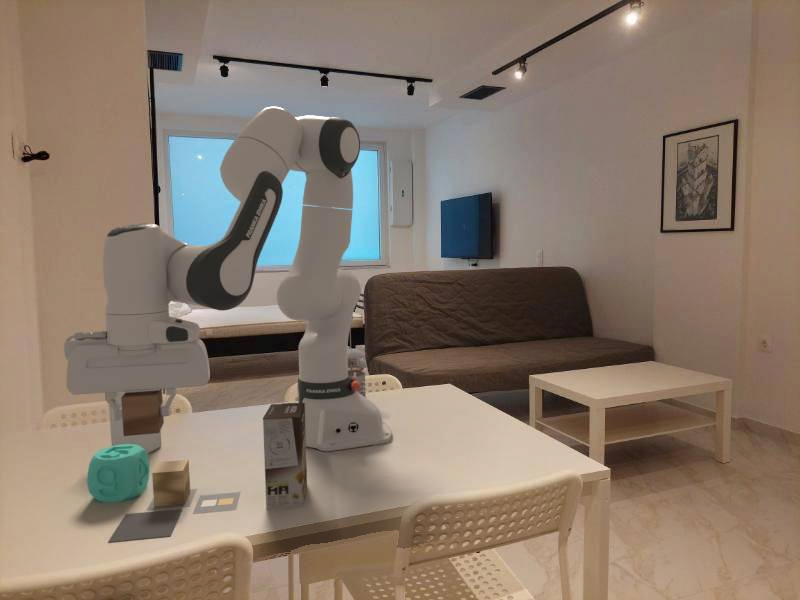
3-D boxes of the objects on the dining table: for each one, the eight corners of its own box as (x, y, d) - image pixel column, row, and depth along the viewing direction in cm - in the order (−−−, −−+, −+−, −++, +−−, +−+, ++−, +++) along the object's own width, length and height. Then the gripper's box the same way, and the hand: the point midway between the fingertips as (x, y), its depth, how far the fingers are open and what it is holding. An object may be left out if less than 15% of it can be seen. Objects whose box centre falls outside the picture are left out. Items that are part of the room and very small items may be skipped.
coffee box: (303, 509, 96) (300, 417, 94) (265, 511, 95) (261, 418, 94) (307, 485, 105) (305, 401, 103) (273, 487, 105) (269, 403, 103)
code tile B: (197, 490, 104) (197, 488, 104) (189, 507, 97) (189, 506, 97) (156, 493, 103) (156, 492, 103) (146, 511, 96) (146, 509, 96)
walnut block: (159, 433, 87) (156, 395, 86) (123, 436, 86) (121, 397, 85) (163, 422, 92) (161, 386, 91) (130, 425, 91) (128, 389, 90)
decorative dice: (150, 483, 107) (148, 442, 107) (136, 502, 100) (133, 458, 99) (106, 486, 106) (103, 444, 106) (88, 505, 99) (85, 461, 98)
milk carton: (141, 458, 120) (135, 370, 118) (112, 456, 121) (106, 369, 119) (161, 446, 127) (157, 363, 125) (133, 444, 128) (128, 362, 126)
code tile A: (240, 493, 102) (240, 491, 102) (236, 511, 95) (236, 509, 95) (200, 497, 101) (199, 495, 101) (192, 515, 94) (192, 513, 94)
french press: (330, 406, 156) (327, 316, 154) (341, 395, 168) (339, 311, 165) (364, 407, 155) (363, 317, 152) (373, 396, 166) (372, 311, 163)
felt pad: (182, 511, 96) (182, 508, 96) (170, 538, 87) (170, 535, 87) (125, 516, 94) (125, 514, 94) (108, 544, 85) (107, 541, 85)
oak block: (190, 491, 103) (188, 459, 102) (184, 504, 98) (182, 470, 97) (161, 494, 102) (159, 461, 101) (154, 506, 97) (152, 473, 96)
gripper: (56, 336, 81) (62, 429, 83) (206, 330, 86) (209, 417, 88) (69, 329, 87) (75, 416, 89) (208, 324, 93) (212, 406, 94)
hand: (143, 417), depth 88 cm, fingers closed on walnut block, 5 cm apart
